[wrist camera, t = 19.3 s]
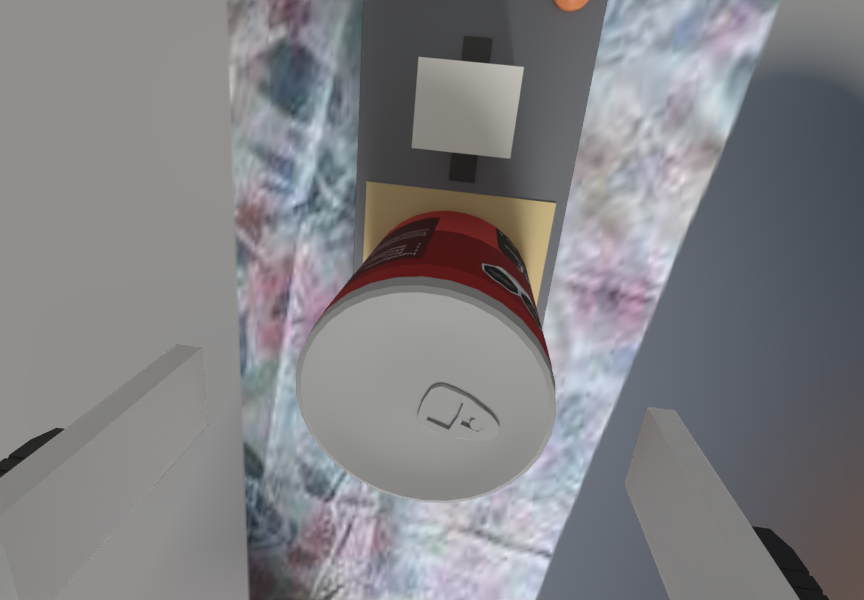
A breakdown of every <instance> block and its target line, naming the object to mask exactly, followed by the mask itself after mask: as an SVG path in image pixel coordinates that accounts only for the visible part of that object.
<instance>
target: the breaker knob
mask: <svg viewBox="0 0 864 600" xmlns="http://www.w3.org/2000/svg"><path fill="white" fill-rule="evenodd" d="M523 70H524V67H519V66H508V65H498V64H488V63H478V62H467V61H457V60H447V59H437V58H426V57H418V71H417V84H416V97H415V110H414V123H413V136H412V148H417V149H426V150H435V151H444V152H453V153H463V154H472V155H481V156H490V157H499V158H509V159H510V157H511V150H512V143H513V137H514V130H515V123H516V117H517V110H518V104H519V97H520V90H521V84H522V77H523Z"/></svg>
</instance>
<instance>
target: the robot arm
mask: <svg viewBox="0 0 864 600" xmlns="http://www.w3.org/2000/svg"><path fill="white" fill-rule="evenodd" d="M207 426H208V417H207V404H206V392H205V381H204V370H203V358H202V348H200V347H193V346H185V345H178V344H177V345H176V346H174V347H173V348H172V349H170V350H169V351H168V352H166V353H165V354H164V355H163V356H161V357H160V358H159V359H157V360H156V361H154V362H153V363H152V364H150V365H149V366H148V367H146V368H145V369H144V370H143V371H141V372H140V373H138V374H137V375H136V376H135V377H133V378H132V379H131V380H129V381H128V382H127V383H125V384H124V385H123V386H121V387H120V388H119V389H117V390H116V391H115V392H113V393H112V394H111V395H109V396H108V397H107V398H106V399H104V400H103V401H101V402H100V403H99V404H97V405H96V406H95V407H93V408H92V409H91V410H90V411H88V412H87V413H86V414H84V415H83V416H82V417H80V418H79V419H78V420H76V421H75V422H74V423H72V424H71V425H70V426H68V427H67V428H66V429H61V428H55V429H53V430H51V431H49V432H47V433H44V434H42V435H40V436H38V437H36V438H33V439H31V440H29V441H28V442H27V443H25V444H24V445H23V446H21V447H20V448H18V449H17V450H16V451H14V452H13V453H11V454H10V455H9V457H8V459H6V458H5V459H3V460H2V461H0V600H54V599H55V598H56V597H57V596H58V595H59V594H60V593H61V591H62V590H63V589H64V588H65V587H66V586H67V585H68V584H69V582H70V581H71V580H72V579H73V578H74V577H75V575H76V574H77V573H78V572H79V571H80V570H81V569H82V567H84V565H85V564H86V563H87V562H88V561H89V560H90V559H91V557H92V556H93V555H94V554H95V553H96V552H97V551H98V549H99V548H100V547H101V546H102V545H103V544H104V543H105V541H106V540H107V539H108V538H109V537H110V536H111V535H112V533H113V532H114V531H115V530H116V529H117V528H118V527H119V526H120V524H121V523H122V522H123V521H124V520H125V519H126V518H127V516H128V515H129V514H130V513H131V512H132V511H133V510H134V509H135V507H136V506H137V505H138V504H139V503H140V502H141V501H142V499H143V498H144V497H145V496H146V495H147V494H148V492H150V490H151V489H152V488H153V487H154V486H155V484H156V483H157V482H158V481H159V480H160V479H161V478H162V477H163V476H164V474H165V473H166V472H167V471H168V470H169V469H170V468H171V466H172V465H173V464H174V463H175V462H176V461H177V459H178V458H179V457H180V456H181V455H182V454H183V453H184V452H185V451H186V449H187V448H188V447H189V446H190V445H191V444H192V443H193V442H194V440H195V439H196V438H197V437H198V436H199V435H200V433H201V432H202V431H203V430H204V429H205V428H206V427H207ZM624 484H625V486H626V489H627V491H628V494H629V497H630V499H631V502H632V504H633V507H634V509H635V512H636V514H637V517H638V520H639V522H640V525H641V527H642V530H643V532H644V535H645V537H646V540H647V543H648V545H649V548H650V550H651V553H652V555H653V558H654V560H655V563H656V565H657V568H658V571H659V573H660V576H661V578H662V581H663V583H664V586H665V588H666V591H667V594H668V596H669V599H670V600H829V599H828V597H827V596H826V595H823V590H822V589H821V588H820V586H819V585H818V583H817V582H816V581H815V579H814V578H813V576H810V575H809V571H808V569H807V568H806V567H805V565H804V564H803V563H802V561H801V560H800V559H799V557H798V556H797V554H796V553H795V552H794V550H793V549H792V548H791V547H789V545H787V544H786V543H785V542H784V541H783V540H782V539H781V538H780V537H778V536H777V535H776V534H775V533H774V532H773V531H772V530H770V529H767V528H760V527H753V526H751V525H750V524H749V522H748V521H747V519H746V517H745V516H744V514H743V513H742V511H741V510H740V508H739V507H738V505H737V504H736V502H735V501H734V499H733V498H732V496H731V495H730V493H729V492H728V490H727V489H726V487H725V486H724V484H723V483H722V481H721V480H720V478H719V477H718V475H717V474H716V472H715V470H714V469H713V467H712V466H711V464H710V463H709V461H708V460H707V458H706V457H705V455H704V454H703V452H702V451H701V449H700V448H699V446H698V445H697V443H696V442H695V440H694V439H693V437H692V436H691V434H690V433H689V431H688V430H687V428H686V427H685V425H684V424H683V422H682V420H681V419H680V417H679V416H678V415H677V413H676V411H674V410H667V409H660V408H652V407H648V408H647V410H646V414H645V417H644V420H643V424H642V427H641V430H640V434H639V437H638V440H637V444H636V447H635V450H634V453H633V457H632V460H631V463H630V467H629V470H628V474H627V477H626V480H625V483H624Z"/></svg>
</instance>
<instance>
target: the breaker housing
mask: <svg viewBox="0 0 864 600" xmlns="http://www.w3.org/2000/svg"><path fill="white" fill-rule="evenodd" d="M607 1H608V0H363V19H362V47H361V74H360V102H359V130H358V158H357V185H356V213H355V241H354V268H353V275H354V274H355V273H356V271H357V270H358V269H359V268H360V266H361V265H362V264H363V263H364V261H365V260H366V259H367V258H368V257H369V255H370V254H371V253H372V252H373V250H374V249H375V248H376V247H377V245H378V244H379V243H380V242H381V241H382V239H383V238H384V237H385V236H386V235H387V234H388V232H389V231H391V230H392V229H393V228H394V227H396V226H397V225H398V224H400V223H401V222H403V221H405V220H407V219H409V218H411V217H413V216H415V215H419V214H423V213H427V212H432V211H454V212H461V213H466V214H469V215H472V216H475V217H478V218H481V219H483V220H484V221H486V222H488V223H490V224H491V225H493V226H495V227H496V228H498V229H499V230H500V231H501V232H502V233H503V234H505V235H506V236H507V237H508V238H509V239H510V241H511V242H512V243H513V244H514V246H515V247H516V248H517V249H518V251H519V253H520V255H521V257H522V259H523V261H524V263H525V266H526V270H527V273H528V277H529V281H530V285H531V289H532V292H533V296H534V300H535V304H536V308H537V312H538V315H539V319H540V323H541V327H542V326H543V321H544V316H545V311H546V306H547V301H548V296H549V291H550V286H551V281H552V276H553V271H554V266H555V261H556V256H557V251H558V246H559V241H560V236H561V231H562V226H563V221H564V216H565V211H566V206H567V201H568V196H569V191H570V186H571V181H572V176H573V171H574V166H575V161H576V156H577V151H578V146H579V141H580V136H581V131H582V126H583V121H584V116H585V111H586V106H587V101H588V96H589V91H590V86H591V81H592V76H593V71H594V66H595V61H596V56H597V51H598V46H599V41H600V36H601V31H602V26H603V21H604V16H605V11H606V6H607ZM418 57H426V58H437V59H447V60H457V61H467V62H478V63H488V64H498V65H508V66H519V67H524V70H523V77H522V84H521V90H520V97H519V104H518V110H517V117H516V123H515V130H514V137H513V143H512V150H511V157H510V159H509V158H499V157H490V156H481V155H472V154H463V153H453V152H444V151H435V150H426V149H417V148H412V136H413V123H414V110H415V97H416V84H417V71H418Z"/></svg>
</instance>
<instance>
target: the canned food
mask: <svg viewBox="0 0 864 600" xmlns="http://www.w3.org/2000/svg"><path fill="white" fill-rule="evenodd" d="M296 394H297V398H298V402H299V407H300V411H301V415H302V417H303V419H304V421H305V423H306V425H307V427H308V429H309V431H310V434H311V435H312V436H313V438H314V439H315V441H316V442H317V443H318V445H319V446H320V447H321V449H322V450H323V451H324V453H326V454H327V455H328V456H329V457H330V458H331V459H332V460H333V461H334V462H335V463H336V464H337V465H338V466H339V467H340V468H341V469H343V470H344V471H346V472H347V473H349V474H350V475H351V476H353V477H354V478H356V479H357V480H359V481H361V482H363V483H365V484H367V485H369V486H371V487H373V488H375V489H377V490H379V491H381V492H384V493H387V494H391V495H394V496H397V497H400V498H404V499H410V500H415V501H421V502H441V503H449V502H457V501H465V500H471V499H475V498H478V497H481V496H485V495H488V494H491V493H494V492H496V491H497V490H499V489H501V488H503V487H505V486H507V485H509V484H511V483H513V482H514V481H515V480H516V479H518V478H519V477H520V476H522V475H523V474H524V473H525V472H527V471H528V470H529V469H530V468H531V466H532V465H533V464H534V463H535V462H536V460H537V459H538V458H539V457H540V455H541V454H542V453H543V451H544V448H545V446H546V444H547V442H548V440H549V438H550V436H551V433H552V429H553V425H554V420H555V416H556V404H555V380H554V376H553V372H552V367H551V361H550V358H549V354H548V350H547V346H546V342H545V338H544V335H543V331H542V327H541V323H540V319H539V315H538V312H537V308H536V304H535V300H534V296H533V292H532V289H531V285H530V281H529V277H528V273H527V270H526V266H525V263H524V261H523V259H522V257H521V255H520V253H519V251H518V249H517V248H516V247H515V246H514V244H513V243H512V242H511V241H510V239H509V238H508V237H507V236H506V235H505V234H503V233H502V232H501V231H500V230H499V229H498V228H496V227H495V226H493V225H491V224H490V223H488V222H486V221H484V220H483V219H481V218H478V217H475V216H472V215H469V214H466V213H461V212H454V211H432V212H427V213H423V214H419V215H415V216H413V217H411V218H409V219H407V220H405V221H403V222H401V223H400V224H398V225H397V226H396V227H394V228H393V229H392V230H391V231H389V232H388V234H387V235H386V236H385V237H384V238H383V239H382V241H381V242H380V243H379V244H378V245H377V247H376V248H375V249H374V250H373V252H372V253H371V254H370V255H369V257H368V258H367V259H366V260H365V261H364V263H363V264H362V265H361V266H360V268H359V269H358V270H357V271H356V273H355V274H354V275H353V276H352V277H351V279H350V280H349V281H348V282H347V284H346V285H345V286H344V287H343V289H342V290H341V291H340V292H339V293H338V295H337V296H336V297H335V298H334V300H333V301H332V302H331V303H330V305H329V306H328V307H327V308H326V309H325V311H324V313H323V314H322V316H321V317H320V318H319V319H318V321H317V322H316V323H315V325H314V327H313V329H312V331H311V333H310V335H309V337H308V339H307V341H306V343H305V345H304V347H303V349H302V351H301V354H300V358H299V362H298V367H297V371H296Z"/></svg>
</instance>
